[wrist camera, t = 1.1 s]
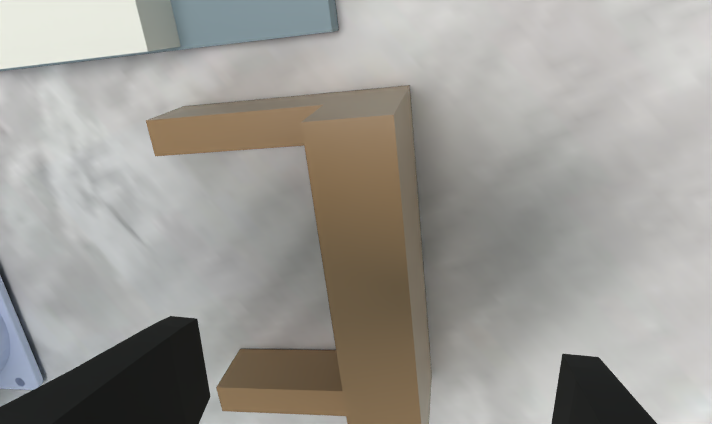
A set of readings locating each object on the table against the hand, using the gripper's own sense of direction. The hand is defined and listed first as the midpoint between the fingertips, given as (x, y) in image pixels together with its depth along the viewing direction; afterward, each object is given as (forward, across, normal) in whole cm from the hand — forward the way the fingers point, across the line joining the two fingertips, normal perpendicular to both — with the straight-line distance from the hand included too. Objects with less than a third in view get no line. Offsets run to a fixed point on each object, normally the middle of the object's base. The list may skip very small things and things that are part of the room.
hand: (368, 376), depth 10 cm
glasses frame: (+9, +4, +2) cm, 10 cm away
